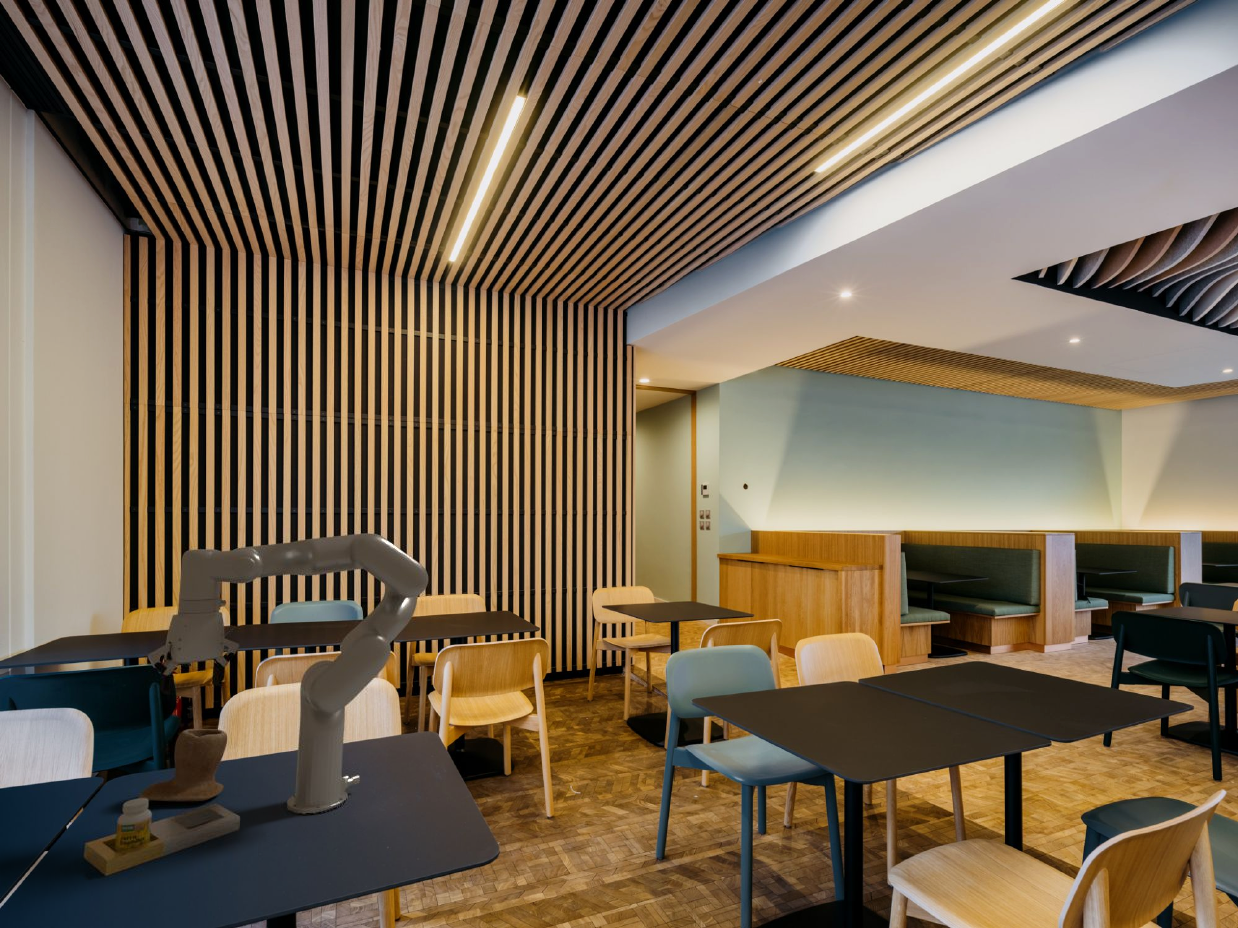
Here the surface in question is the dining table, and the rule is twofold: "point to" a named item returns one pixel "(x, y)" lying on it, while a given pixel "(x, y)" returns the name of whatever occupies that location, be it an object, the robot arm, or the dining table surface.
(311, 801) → the robot arm
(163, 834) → the holder
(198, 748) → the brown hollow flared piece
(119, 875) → the dining table surface
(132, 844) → the supplement bottle
